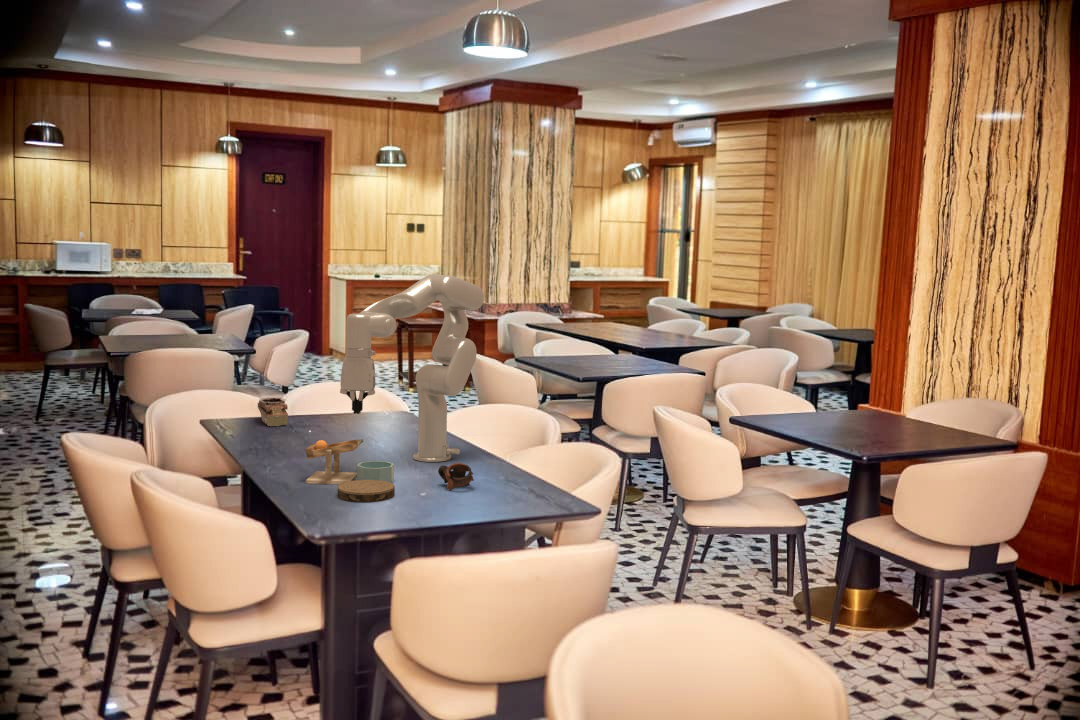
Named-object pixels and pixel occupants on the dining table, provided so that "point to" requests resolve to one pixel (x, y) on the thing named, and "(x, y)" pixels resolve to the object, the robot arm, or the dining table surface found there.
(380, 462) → the green octagonal bowl
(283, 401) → the decorative box
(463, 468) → the pottery mug
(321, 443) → the ball
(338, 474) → the frame
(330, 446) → the lever
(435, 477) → the dining table surface
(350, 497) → the wood log slice
